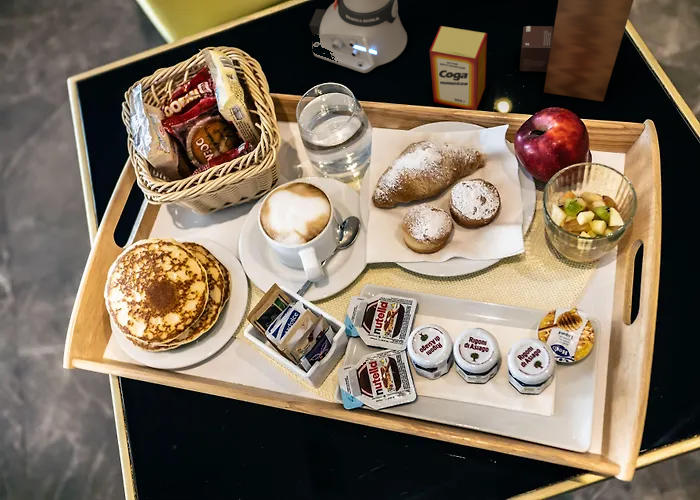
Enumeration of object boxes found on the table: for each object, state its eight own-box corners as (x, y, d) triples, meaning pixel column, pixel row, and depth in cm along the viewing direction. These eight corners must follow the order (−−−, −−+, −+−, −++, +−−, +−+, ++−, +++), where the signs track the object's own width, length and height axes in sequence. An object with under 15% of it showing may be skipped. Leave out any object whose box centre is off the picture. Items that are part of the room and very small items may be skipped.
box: (547, 72, 130) (551, 48, 123) (518, 71, 131) (521, 47, 125) (549, 51, 132) (553, 25, 126) (521, 50, 134) (523, 25, 127)
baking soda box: (433, 102, 132) (429, 49, 118) (443, 79, 134) (440, 24, 120) (476, 110, 129) (476, 57, 115) (485, 87, 131) (487, 32, 117)
